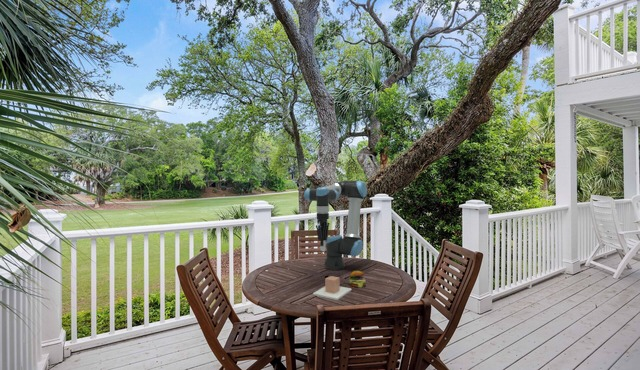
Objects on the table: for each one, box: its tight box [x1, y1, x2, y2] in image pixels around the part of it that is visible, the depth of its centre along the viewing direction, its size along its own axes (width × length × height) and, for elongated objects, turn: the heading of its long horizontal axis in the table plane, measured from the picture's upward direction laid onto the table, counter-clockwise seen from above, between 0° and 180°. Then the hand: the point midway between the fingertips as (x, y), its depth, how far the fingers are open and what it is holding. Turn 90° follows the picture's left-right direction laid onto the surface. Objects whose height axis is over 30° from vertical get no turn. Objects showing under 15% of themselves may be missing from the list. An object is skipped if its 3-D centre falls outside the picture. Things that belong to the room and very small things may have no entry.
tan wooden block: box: [324, 275, 341, 294], centre depth 201 cm, size 6×6×8 cm
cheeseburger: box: [348, 270, 367, 288], centre depth 214 cm, size 10×11×10 cm
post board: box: [312, 285, 352, 301], centre depth 201 cm, size 18×16×7 cm
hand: (323, 250), depth 210 cm, fingers closed
